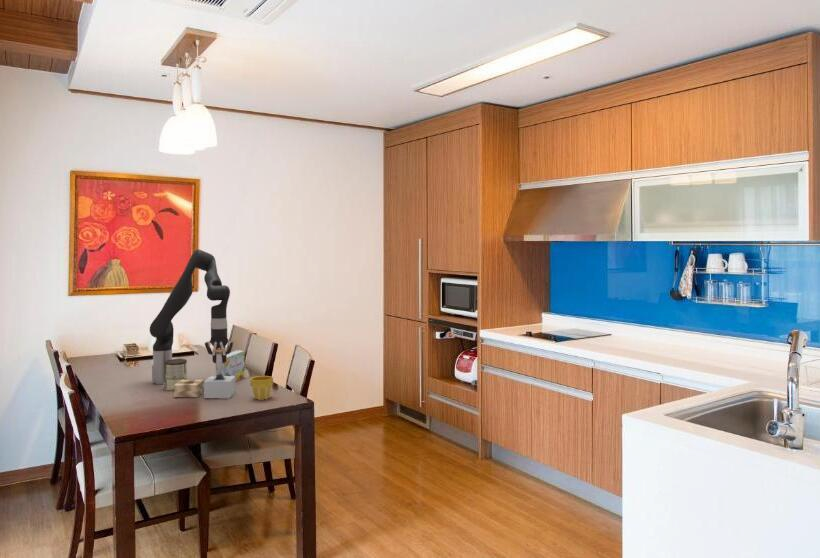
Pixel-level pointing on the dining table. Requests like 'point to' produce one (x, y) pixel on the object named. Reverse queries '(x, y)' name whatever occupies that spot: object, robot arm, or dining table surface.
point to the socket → (219, 387)
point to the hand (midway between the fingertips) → (219, 362)
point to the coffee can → (175, 372)
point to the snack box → (235, 364)
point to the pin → (219, 364)
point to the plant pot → (261, 386)
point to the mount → (189, 388)
